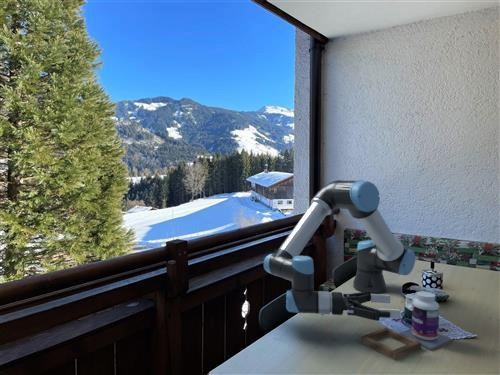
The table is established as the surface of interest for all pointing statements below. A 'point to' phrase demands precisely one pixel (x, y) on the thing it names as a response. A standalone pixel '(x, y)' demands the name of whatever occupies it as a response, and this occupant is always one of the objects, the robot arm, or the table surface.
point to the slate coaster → (429, 344)
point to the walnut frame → (394, 354)
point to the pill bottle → (425, 316)
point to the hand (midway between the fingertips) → (395, 306)
